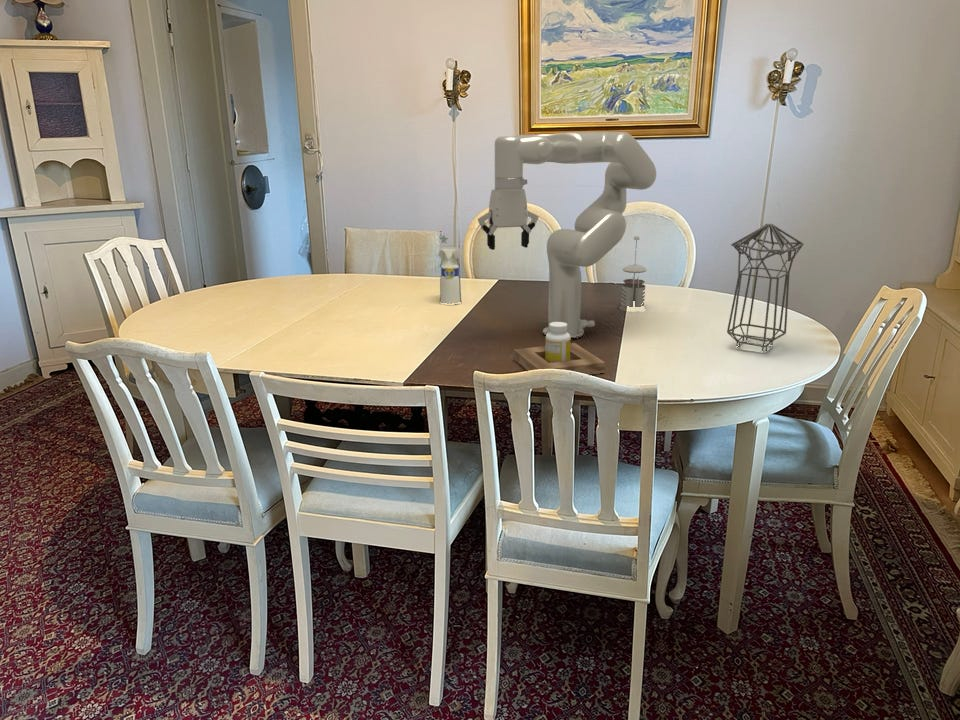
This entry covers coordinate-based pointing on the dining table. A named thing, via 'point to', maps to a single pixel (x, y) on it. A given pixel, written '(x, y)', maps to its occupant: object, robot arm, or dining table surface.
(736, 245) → the geometric lantern
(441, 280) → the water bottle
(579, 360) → the board with square hole
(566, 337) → the pill bottle
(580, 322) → the robot arm
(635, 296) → the french press
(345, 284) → the dining table surface
